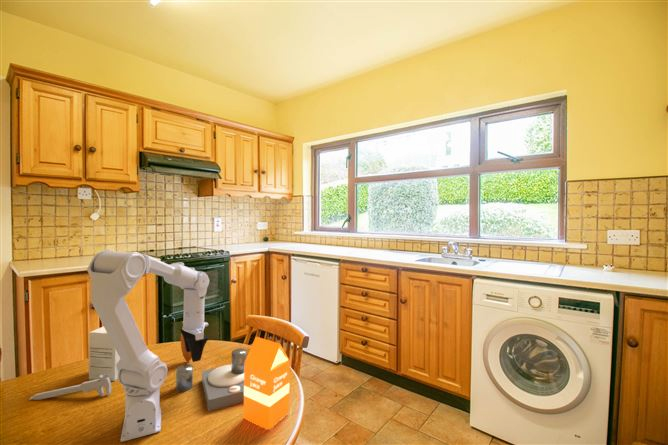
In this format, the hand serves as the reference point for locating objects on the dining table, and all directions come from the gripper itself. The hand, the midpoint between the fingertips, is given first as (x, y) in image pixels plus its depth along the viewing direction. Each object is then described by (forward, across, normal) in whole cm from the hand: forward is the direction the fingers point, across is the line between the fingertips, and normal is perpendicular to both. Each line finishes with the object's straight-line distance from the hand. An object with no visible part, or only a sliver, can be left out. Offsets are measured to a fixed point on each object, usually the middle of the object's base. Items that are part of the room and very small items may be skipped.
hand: (193, 355), depth 93 cm
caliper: (+10, +14, +29) cm, 34 cm away
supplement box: (+10, +23, +19) cm, 31 cm away
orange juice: (+10, -25, -12) cm, 30 cm away
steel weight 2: (+6, -5, -12) cm, 14 cm away
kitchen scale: (+9, -7, -9) cm, 15 cm away
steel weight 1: (+10, +1, +2) cm, 10 cm away
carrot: (+10, +18, -2) cm, 20 cm away
